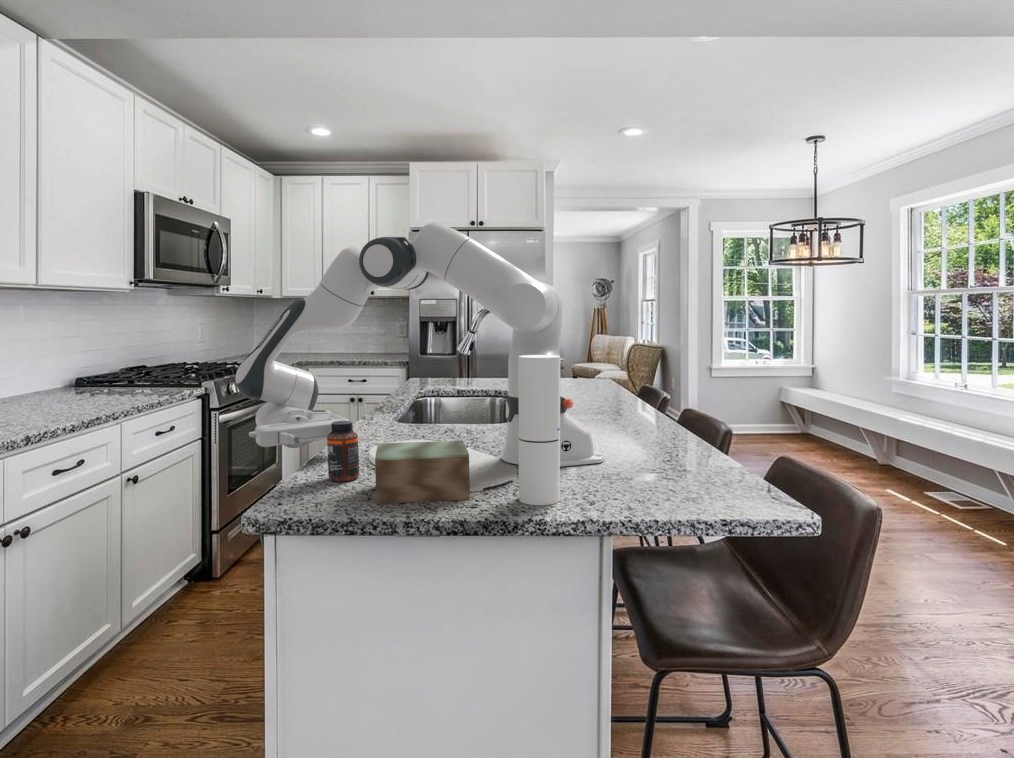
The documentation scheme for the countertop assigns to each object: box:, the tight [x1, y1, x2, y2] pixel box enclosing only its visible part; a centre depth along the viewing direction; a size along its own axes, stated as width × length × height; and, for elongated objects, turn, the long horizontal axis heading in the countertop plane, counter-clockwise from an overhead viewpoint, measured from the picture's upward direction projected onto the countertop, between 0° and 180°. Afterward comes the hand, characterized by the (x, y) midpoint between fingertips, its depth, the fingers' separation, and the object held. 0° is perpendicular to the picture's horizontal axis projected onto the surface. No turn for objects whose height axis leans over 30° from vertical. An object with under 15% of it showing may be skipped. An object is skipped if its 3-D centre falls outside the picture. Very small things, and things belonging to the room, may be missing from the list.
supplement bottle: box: [326, 420, 360, 483], centre depth 125 cm, size 6×6×11 cm
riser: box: [374, 440, 471, 505], centre depth 116 cm, size 16×12×8 cm
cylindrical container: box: [518, 355, 561, 506], centre depth 110 cm, size 7×7×25 cm
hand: (317, 437), depth 134 cm, fingers open, 8 cm apart
